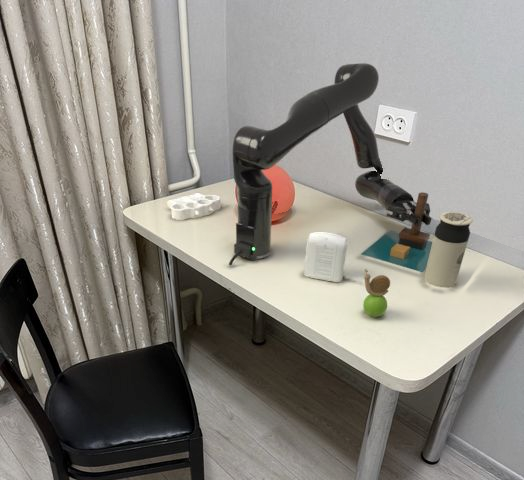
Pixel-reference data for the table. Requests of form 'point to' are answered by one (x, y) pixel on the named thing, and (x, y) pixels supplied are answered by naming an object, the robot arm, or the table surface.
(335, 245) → the photo printer
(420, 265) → the tile
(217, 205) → the white holed tray
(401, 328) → the table surface
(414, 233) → the brown post on base
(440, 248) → the travel mug
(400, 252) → the orange square block
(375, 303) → the snail figurine
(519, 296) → the table surface
